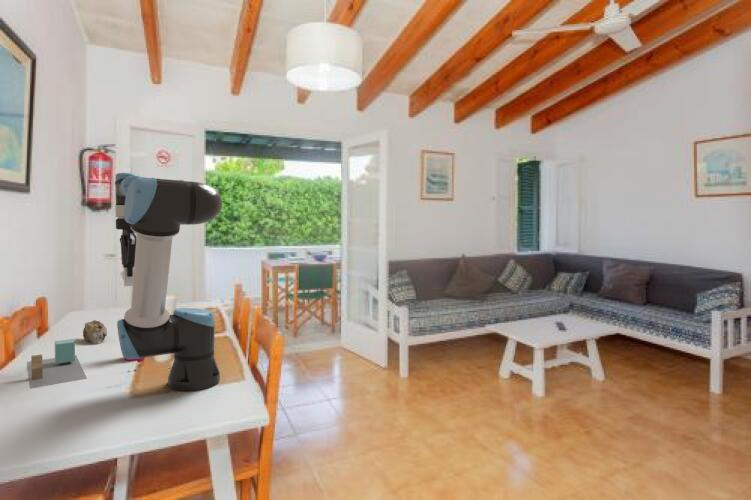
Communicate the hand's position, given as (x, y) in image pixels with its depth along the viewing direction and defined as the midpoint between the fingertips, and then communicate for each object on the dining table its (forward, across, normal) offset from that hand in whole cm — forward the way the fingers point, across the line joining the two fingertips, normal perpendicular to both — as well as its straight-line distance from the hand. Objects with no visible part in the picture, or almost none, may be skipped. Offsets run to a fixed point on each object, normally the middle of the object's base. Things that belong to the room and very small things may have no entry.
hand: (128, 285), depth 151 cm
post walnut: (+27, +12, +17) cm, 34 cm away
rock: (+27, +41, +3) cm, 49 cm away
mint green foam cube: (+26, +12, +17) cm, 33 cm away
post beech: (+27, 0, +26) cm, 37 cm away
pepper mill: (+28, +4, -2) cm, 28 cm away
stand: (+28, +6, +20) cm, 35 cm away
